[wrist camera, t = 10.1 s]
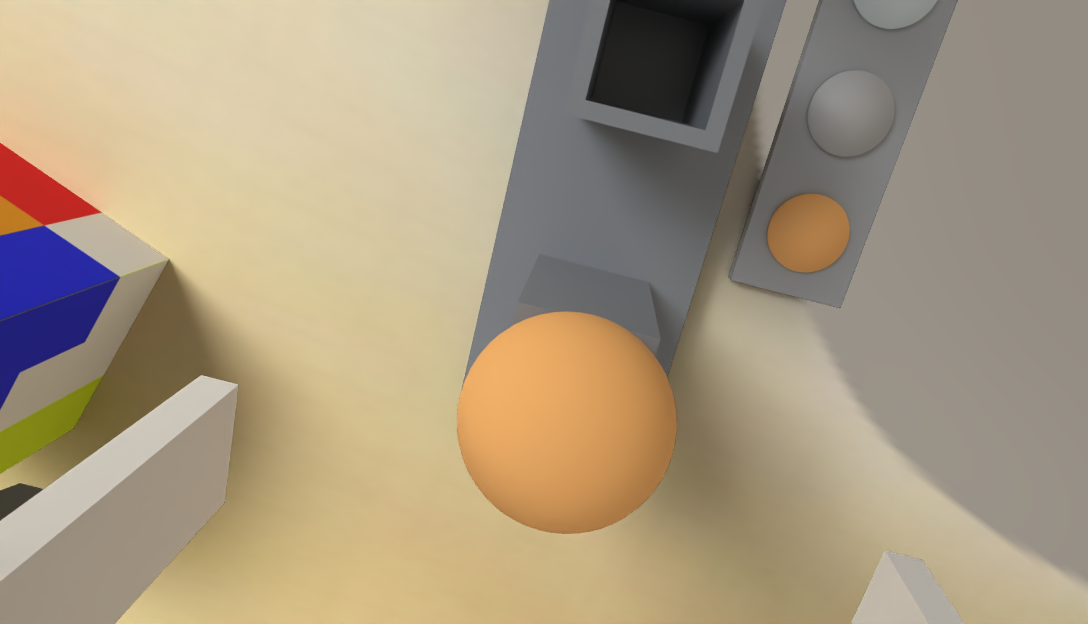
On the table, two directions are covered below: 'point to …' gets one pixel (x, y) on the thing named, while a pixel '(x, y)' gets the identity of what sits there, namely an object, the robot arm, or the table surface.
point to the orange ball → (566, 422)
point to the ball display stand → (624, 162)
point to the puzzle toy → (59, 303)
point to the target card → (838, 144)
